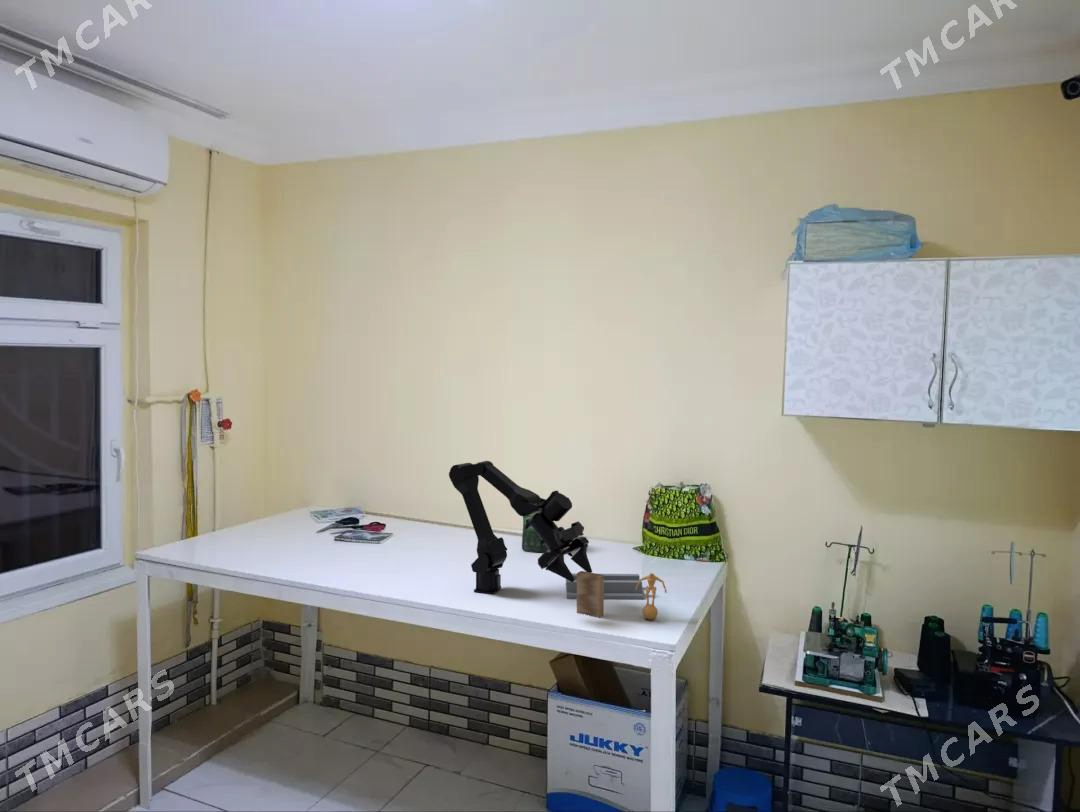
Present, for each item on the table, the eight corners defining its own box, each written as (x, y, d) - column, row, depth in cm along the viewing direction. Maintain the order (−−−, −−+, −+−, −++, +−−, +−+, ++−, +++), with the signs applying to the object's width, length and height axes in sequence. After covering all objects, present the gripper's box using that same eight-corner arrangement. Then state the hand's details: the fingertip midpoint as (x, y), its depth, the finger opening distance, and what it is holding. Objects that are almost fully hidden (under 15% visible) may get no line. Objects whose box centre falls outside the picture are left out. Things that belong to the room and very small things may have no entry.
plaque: (576, 612, 196) (576, 573, 195) (581, 610, 198) (581, 570, 197) (599, 618, 192) (599, 577, 191) (603, 615, 194) (604, 575, 193)
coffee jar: (551, 548, 263) (551, 498, 261) (543, 554, 255) (543, 502, 254) (526, 546, 266) (526, 496, 265) (518, 551, 259) (518, 500, 258)
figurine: (633, 620, 190) (633, 575, 189) (636, 612, 196) (637, 569, 195) (664, 623, 188) (665, 578, 187) (667, 615, 193) (668, 571, 193)
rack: (566, 598, 207) (566, 584, 207) (565, 583, 221) (565, 570, 221) (643, 599, 207) (643, 585, 207) (637, 584, 221) (637, 571, 221)
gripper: (546, 519, 190) (582, 567, 184) (583, 508, 205) (617, 551, 200) (522, 545, 195) (557, 592, 189) (560, 531, 210) (592, 575, 205)
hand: (582, 576), depth 196 cm, fingers open, 9 cm apart
